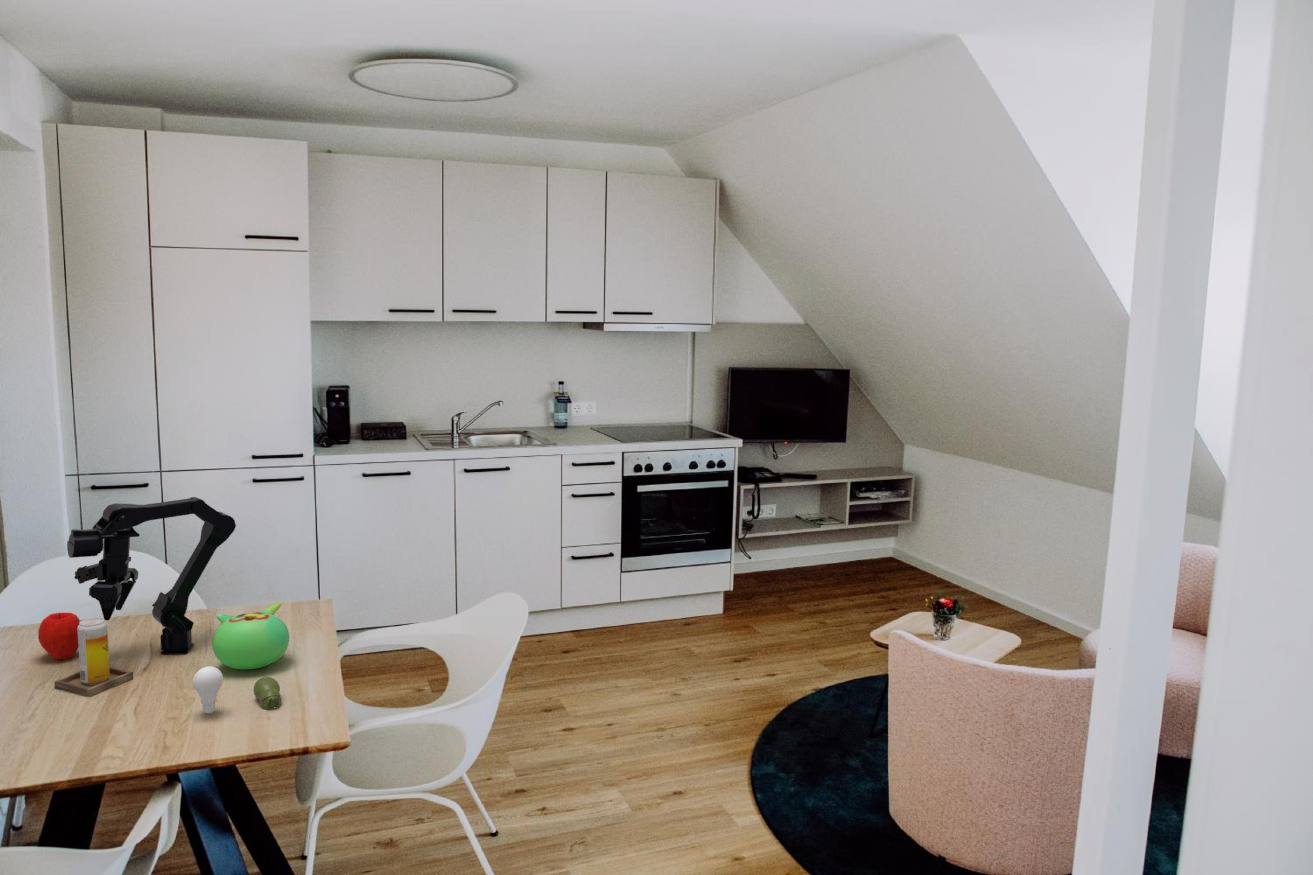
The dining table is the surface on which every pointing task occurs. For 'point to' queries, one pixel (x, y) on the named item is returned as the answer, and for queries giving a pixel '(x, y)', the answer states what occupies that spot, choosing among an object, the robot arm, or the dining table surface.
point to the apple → (59, 635)
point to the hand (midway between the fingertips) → (112, 614)
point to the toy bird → (251, 639)
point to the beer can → (93, 651)
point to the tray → (78, 687)
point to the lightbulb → (208, 686)
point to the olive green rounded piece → (267, 692)
